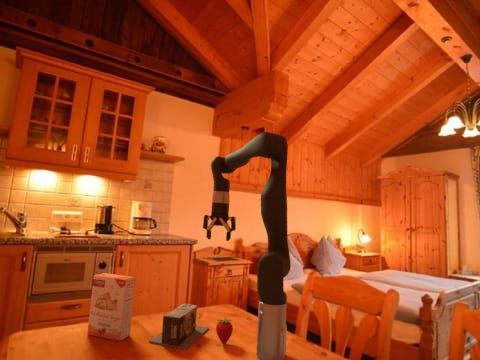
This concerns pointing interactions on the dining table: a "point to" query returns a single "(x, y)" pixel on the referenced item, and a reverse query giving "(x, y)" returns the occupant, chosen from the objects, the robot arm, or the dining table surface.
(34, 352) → the dining table surface
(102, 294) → the cracker box
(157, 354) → the dining table surface
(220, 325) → the strawberry
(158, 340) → the slate mat
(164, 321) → the coffee box
